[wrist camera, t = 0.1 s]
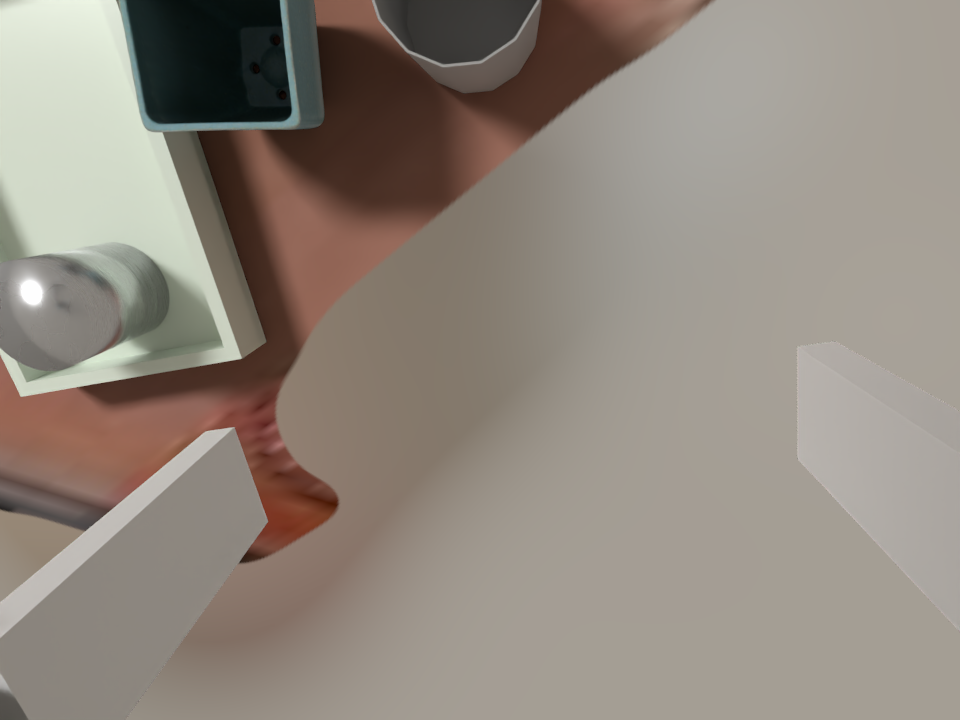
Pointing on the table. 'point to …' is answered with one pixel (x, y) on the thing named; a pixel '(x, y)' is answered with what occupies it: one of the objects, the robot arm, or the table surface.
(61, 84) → the shallow serving tray
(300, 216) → the table surface
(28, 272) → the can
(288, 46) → the flower pot
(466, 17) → the cup
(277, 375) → the table surface
